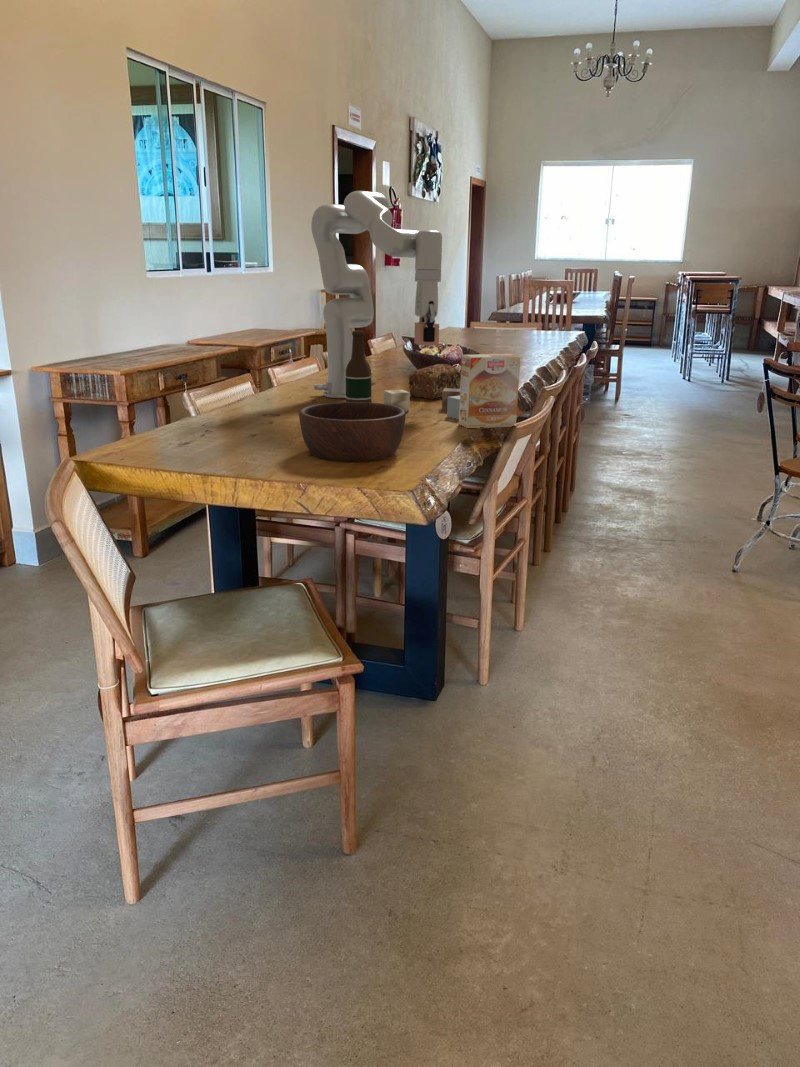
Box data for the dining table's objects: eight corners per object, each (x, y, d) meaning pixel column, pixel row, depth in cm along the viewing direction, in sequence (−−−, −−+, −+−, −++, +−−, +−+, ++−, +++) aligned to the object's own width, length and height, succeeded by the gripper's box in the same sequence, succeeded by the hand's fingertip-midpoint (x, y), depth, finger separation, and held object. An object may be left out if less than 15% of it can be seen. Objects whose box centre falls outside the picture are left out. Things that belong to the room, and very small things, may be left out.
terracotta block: (418, 345, 230) (419, 324, 229) (414, 343, 236) (414, 322, 234) (438, 345, 232) (439, 324, 230) (433, 343, 237) (434, 322, 235)
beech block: (391, 413, 239) (391, 393, 237) (383, 409, 244) (383, 390, 242) (409, 412, 241) (409, 392, 239) (401, 408, 246) (401, 389, 244)
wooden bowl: (349, 437, 205) (349, 398, 202) (426, 452, 190) (427, 410, 187) (277, 454, 187) (276, 410, 184) (356, 471, 172) (356, 425, 169)
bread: (436, 390, 283) (437, 362, 280) (462, 393, 277) (463, 364, 274) (407, 396, 269) (407, 367, 266) (433, 400, 263) (434, 369, 260)
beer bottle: (373, 410, 242) (373, 330, 234) (369, 415, 234) (369, 332, 227) (347, 410, 242) (347, 329, 235) (343, 414, 235) (342, 331, 227)
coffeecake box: (467, 429, 217) (470, 357, 211) (457, 424, 223) (460, 354, 217) (517, 426, 221) (521, 355, 215) (506, 422, 228) (510, 352, 222)
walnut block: (441, 410, 245) (442, 391, 243) (443, 407, 250) (444, 388, 248) (461, 411, 244) (462, 391, 242) (462, 408, 249) (463, 388, 247)
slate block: (460, 420, 230) (460, 399, 228) (446, 417, 234) (447, 396, 232) (475, 418, 233) (476, 397, 231) (462, 415, 238) (463, 395, 236)
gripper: (409, 275, 235) (407, 337, 241) (421, 276, 219) (420, 343, 225) (433, 275, 236) (432, 337, 242) (448, 277, 220) (445, 343, 226)
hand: (426, 340), depth 233 cm, fingers closed on terracotta block, 6 cm apart
